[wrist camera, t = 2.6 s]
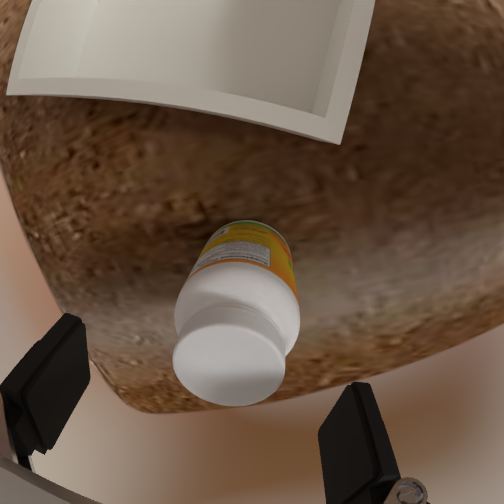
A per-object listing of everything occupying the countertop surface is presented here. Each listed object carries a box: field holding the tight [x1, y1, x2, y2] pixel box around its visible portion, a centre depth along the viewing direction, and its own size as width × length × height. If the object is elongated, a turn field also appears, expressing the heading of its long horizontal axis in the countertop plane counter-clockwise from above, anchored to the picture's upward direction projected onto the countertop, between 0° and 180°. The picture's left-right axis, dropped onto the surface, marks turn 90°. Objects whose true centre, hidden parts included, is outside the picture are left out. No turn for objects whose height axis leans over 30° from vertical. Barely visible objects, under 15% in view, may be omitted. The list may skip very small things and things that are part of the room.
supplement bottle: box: [172, 220, 300, 406], centre depth 15 cm, size 5×5×10 cm
